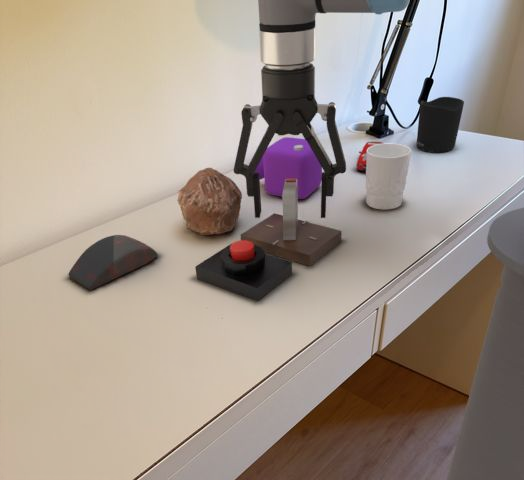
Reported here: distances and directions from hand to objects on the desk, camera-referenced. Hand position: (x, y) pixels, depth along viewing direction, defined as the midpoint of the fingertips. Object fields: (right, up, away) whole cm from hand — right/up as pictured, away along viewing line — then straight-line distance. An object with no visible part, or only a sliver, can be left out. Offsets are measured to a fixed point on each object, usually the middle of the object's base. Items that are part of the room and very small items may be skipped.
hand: (290, 214), depth 87 cm
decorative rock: (-14, 0, +10) cm, 17 cm away
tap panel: (0, -4, +3) cm, 5 cm away
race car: (+20, +19, +31) cm, 42 cm away
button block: (-7, -11, -5) cm, 14 cm away
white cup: (+19, +6, +14) cm, 24 cm away
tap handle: (0, -2, +2) cm, 3 cm away
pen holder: (+36, +26, +38) cm, 58 cm away
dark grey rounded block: (-29, -9, 0) cm, 30 cm away
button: (-8, -8, -7) cm, 13 cm away
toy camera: (0, +11, +22) cm, 24 cm away
